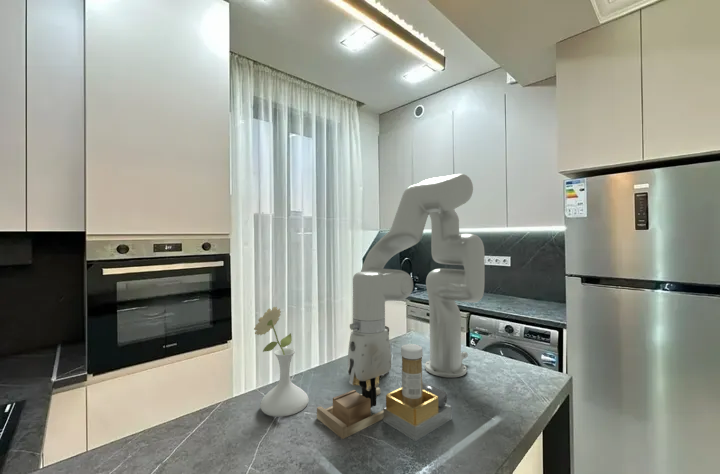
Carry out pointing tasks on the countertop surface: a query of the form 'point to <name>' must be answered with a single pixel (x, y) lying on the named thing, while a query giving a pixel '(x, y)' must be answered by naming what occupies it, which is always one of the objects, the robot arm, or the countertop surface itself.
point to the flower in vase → (285, 393)
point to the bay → (342, 428)
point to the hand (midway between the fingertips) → (369, 404)
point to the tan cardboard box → (351, 407)
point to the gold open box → (417, 412)
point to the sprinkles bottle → (412, 374)
